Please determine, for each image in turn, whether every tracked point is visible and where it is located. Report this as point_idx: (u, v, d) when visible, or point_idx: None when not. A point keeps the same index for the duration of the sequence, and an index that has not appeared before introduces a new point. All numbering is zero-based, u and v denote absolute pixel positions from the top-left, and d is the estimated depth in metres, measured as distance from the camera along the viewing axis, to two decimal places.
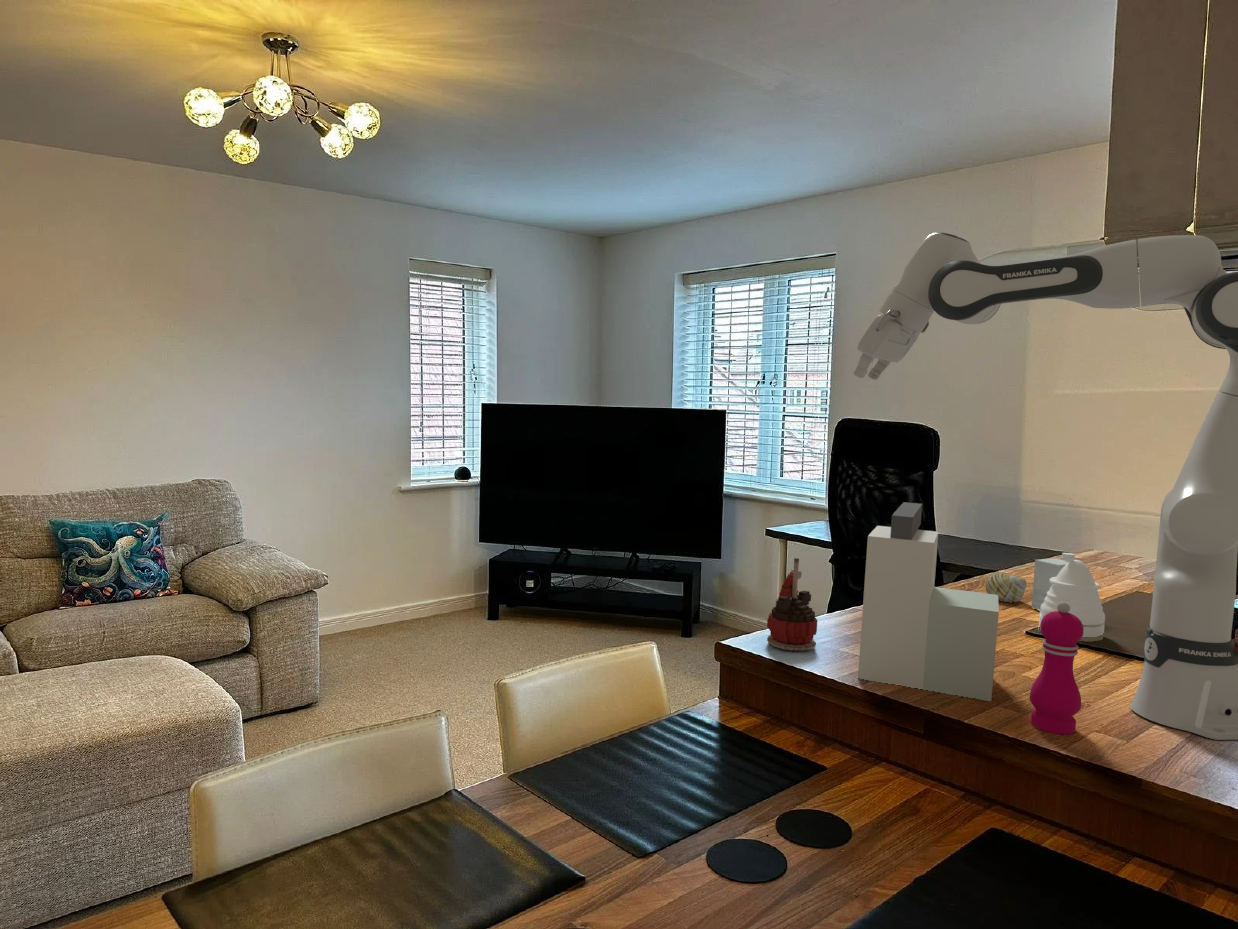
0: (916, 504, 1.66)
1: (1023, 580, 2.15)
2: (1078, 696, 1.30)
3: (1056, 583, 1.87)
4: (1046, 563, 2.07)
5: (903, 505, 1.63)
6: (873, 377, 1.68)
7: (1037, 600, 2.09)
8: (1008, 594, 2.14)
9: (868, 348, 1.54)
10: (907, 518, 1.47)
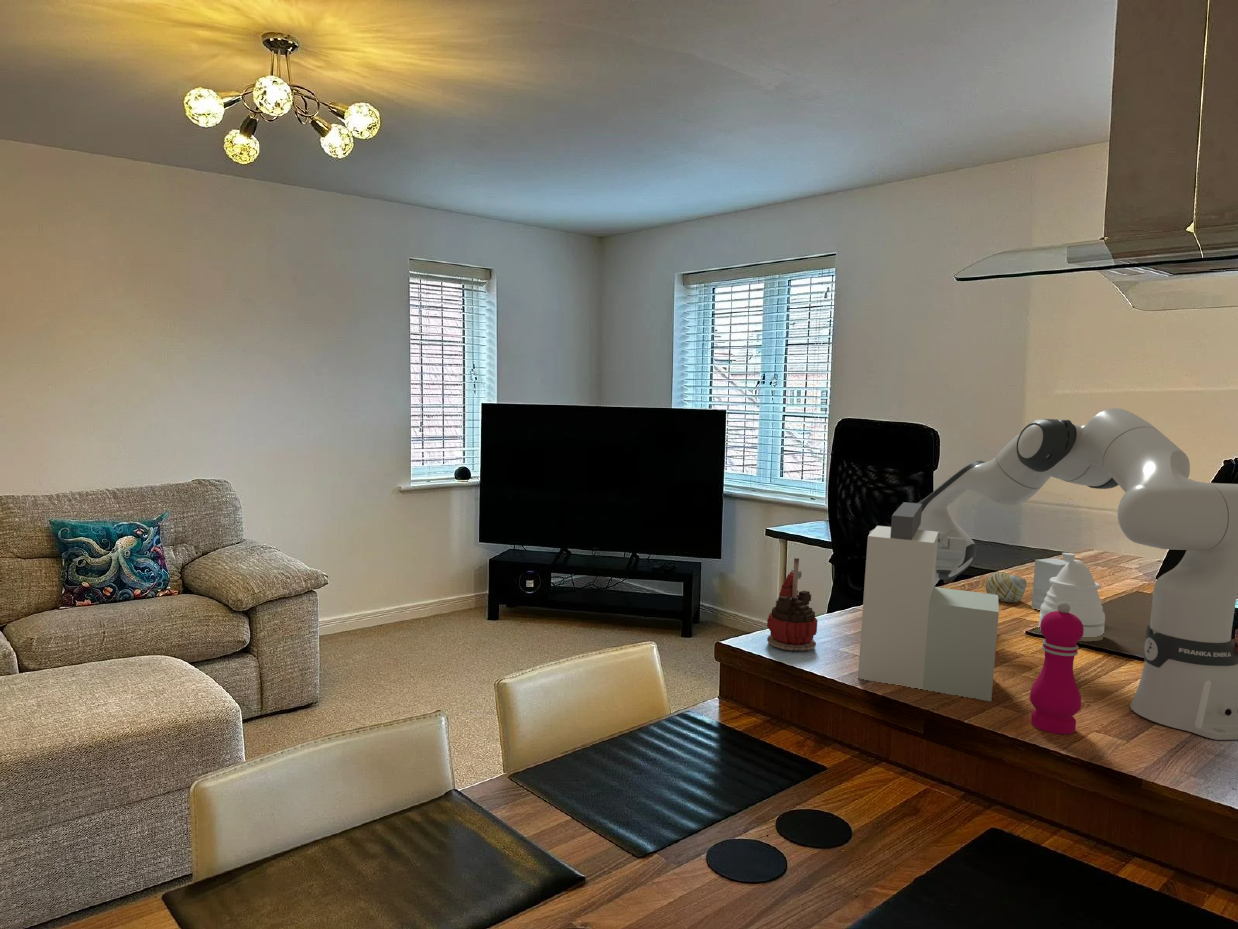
0: (916, 504, 1.66)
1: (1023, 580, 2.15)
2: (1078, 696, 1.30)
3: (1056, 583, 1.87)
4: (1046, 563, 2.07)
5: (903, 505, 1.63)
6: None
7: (1037, 600, 2.09)
8: (1008, 593, 2.15)
9: None
10: (907, 518, 1.47)
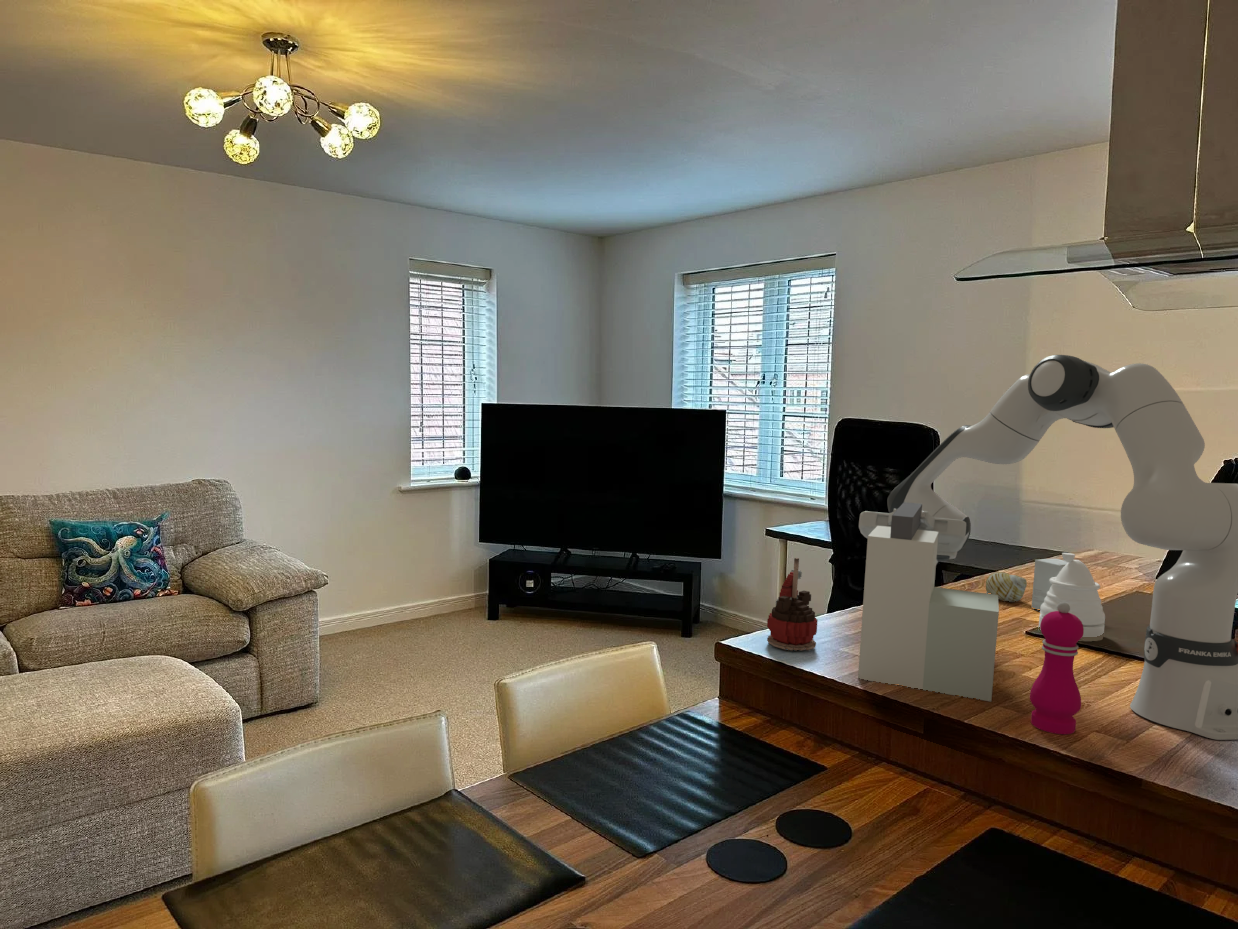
0: (916, 504, 1.66)
1: (1023, 579, 2.16)
2: (1078, 696, 1.30)
3: (1056, 583, 1.87)
4: (1046, 563, 2.07)
5: (903, 505, 1.63)
6: (920, 513, 1.63)
7: (1037, 600, 2.09)
8: (1009, 593, 2.15)
9: None
10: (907, 518, 1.47)
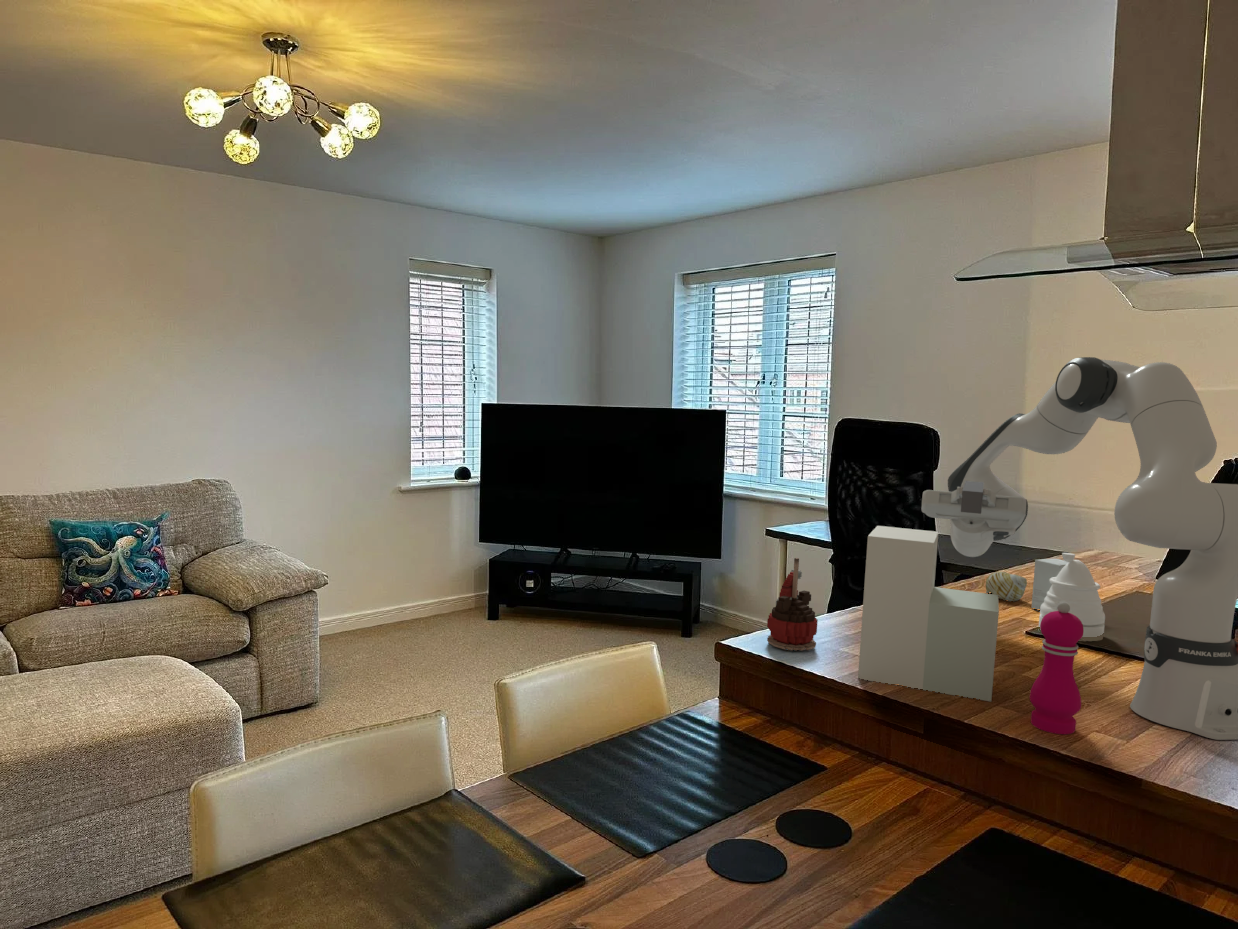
0: (978, 482, 1.75)
1: (1024, 579, 2.16)
2: (1078, 696, 1.30)
3: (1056, 583, 1.87)
4: (1046, 563, 2.07)
5: (967, 483, 1.72)
6: None
7: (1037, 600, 2.09)
8: (1009, 593, 2.16)
9: (922, 497, 1.82)
10: (977, 493, 1.57)
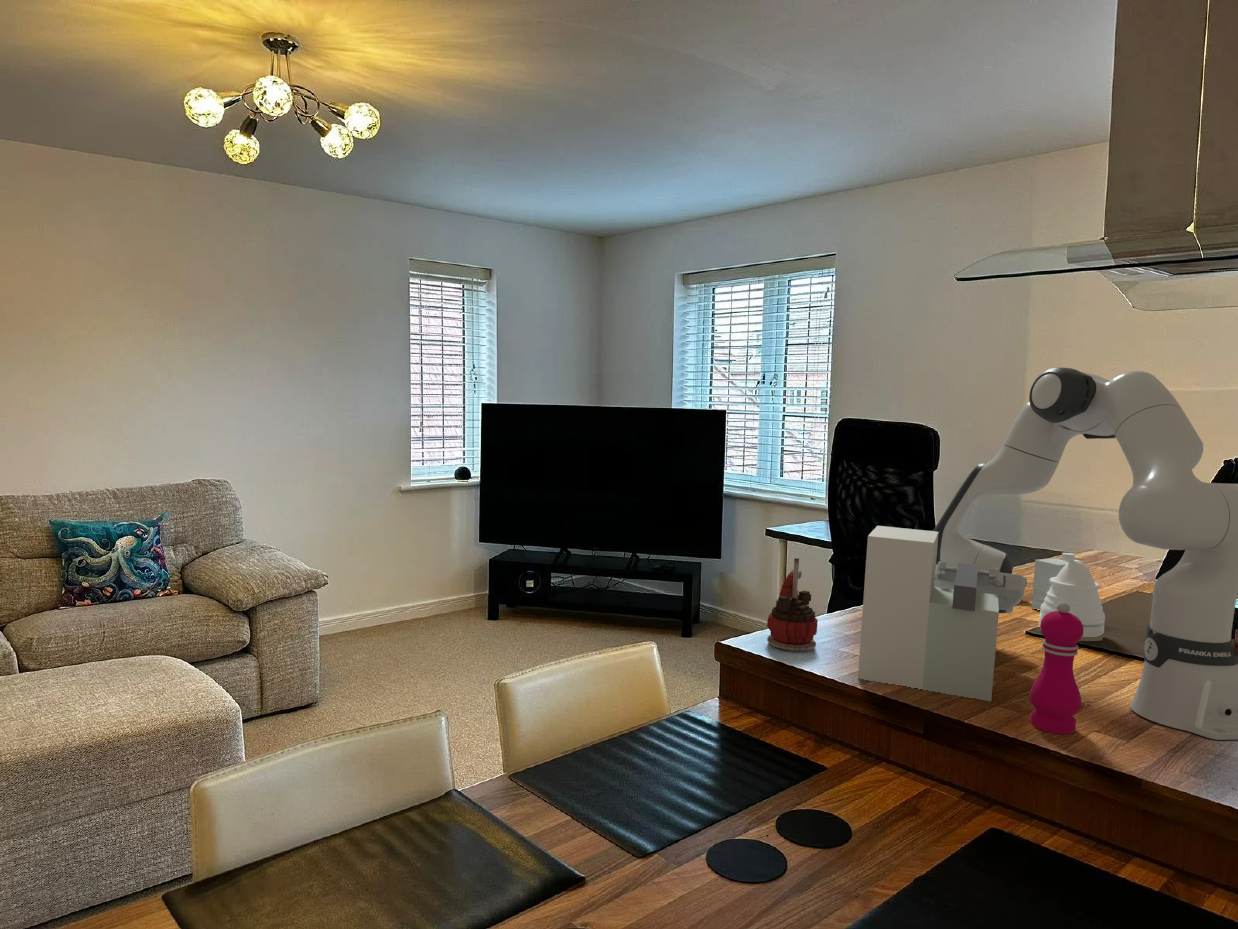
0: (972, 566, 1.60)
1: None
2: (1078, 696, 1.30)
3: (1056, 583, 1.87)
4: (1046, 563, 2.07)
5: (960, 568, 1.58)
6: (989, 569, 1.57)
7: (1037, 600, 2.09)
8: None
9: None
10: (970, 588, 1.42)
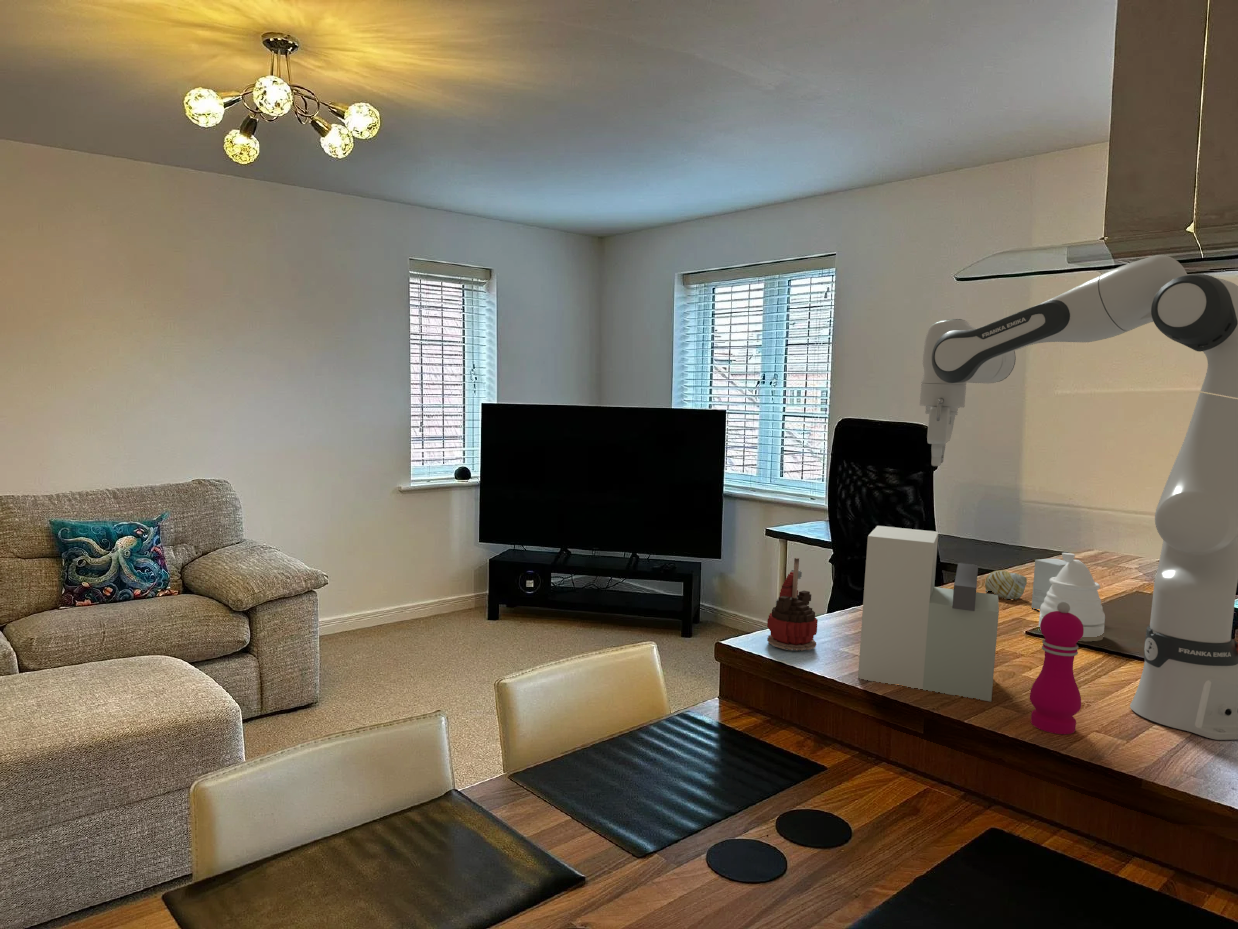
0: (972, 566, 1.60)
1: (1024, 577, 2.18)
2: (1078, 696, 1.30)
3: (1056, 583, 1.87)
4: (1046, 563, 2.07)
5: (960, 568, 1.58)
6: None
7: (1037, 600, 2.09)
8: (1010, 591, 2.17)
9: (938, 438, 1.68)
10: (970, 588, 1.42)
